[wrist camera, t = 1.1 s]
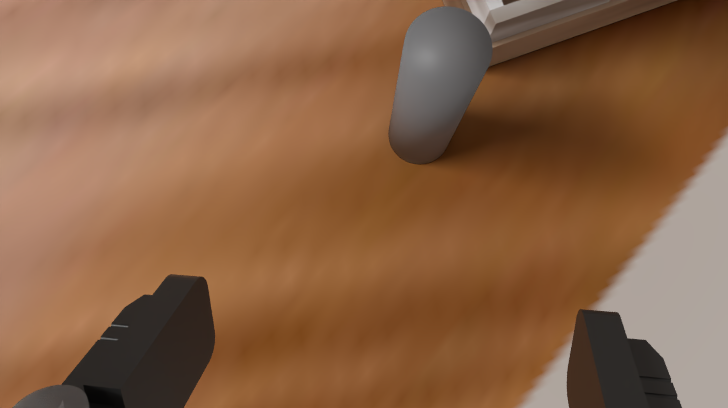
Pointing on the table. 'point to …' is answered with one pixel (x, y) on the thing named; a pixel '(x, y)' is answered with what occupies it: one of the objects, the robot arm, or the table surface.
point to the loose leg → (437, 81)
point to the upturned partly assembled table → (545, 20)
